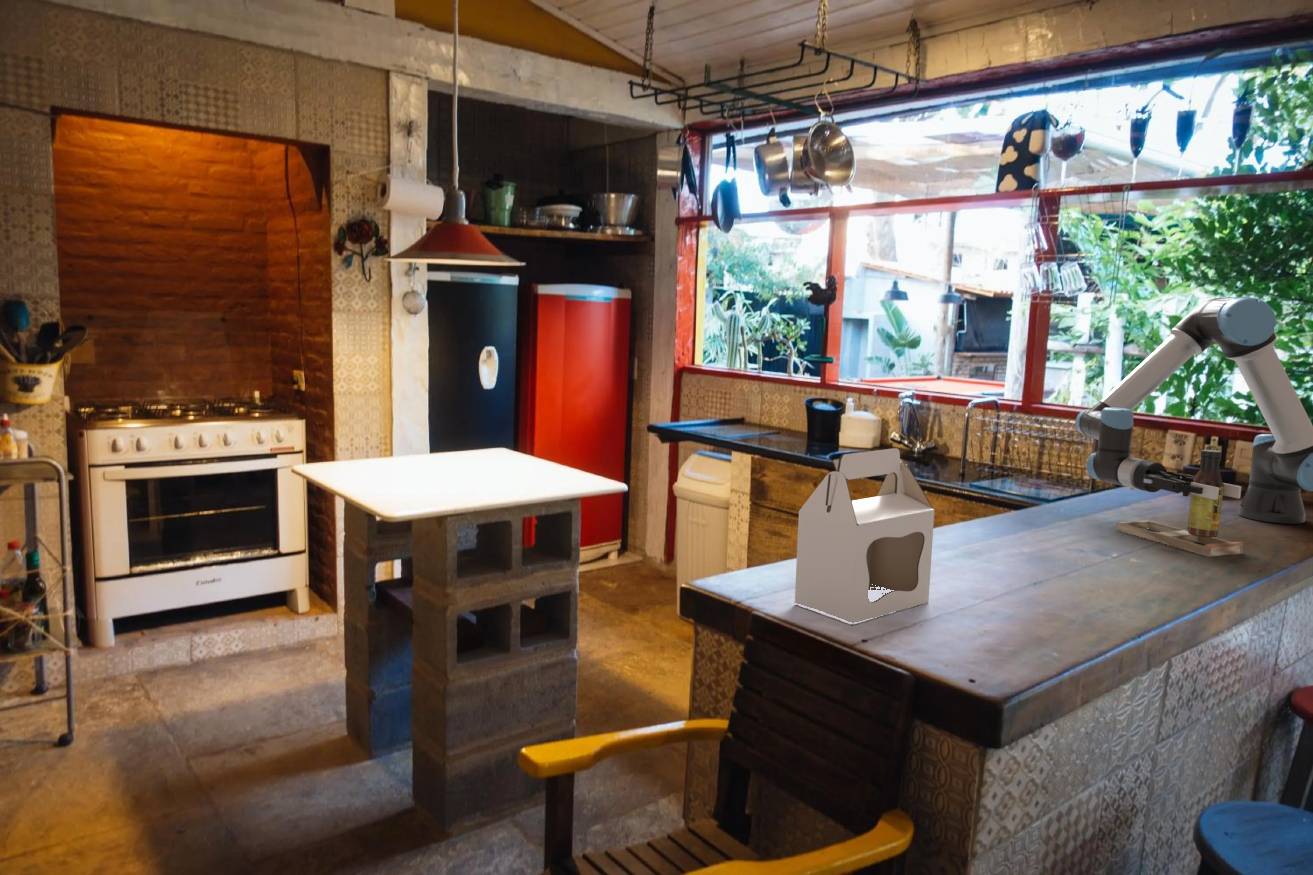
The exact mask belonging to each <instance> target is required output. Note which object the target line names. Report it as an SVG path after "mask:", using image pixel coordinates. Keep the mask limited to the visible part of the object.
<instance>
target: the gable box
mask: <svg viewBox="0 0 1313 875" xmlns="http://www.w3.org/2000/svg"><path fill="white" fill-rule="evenodd" d="M900 452H901V451H900V449H899V448H896V447H892V448H887V449H886V448H885V449H875V450H868V451H861V452H860V451H858V452H852V453H851V452H850V453H843V454H841V455H840V456H839V458H838V459H833V460H832V464H833V466H834V470H835V471H834V470H833V471H830V472H829V473H827V474H826V475H825V477H824V478H823V479H822V480H821V482H820V483H819V484H818V485H817V486H816V489H814V491H813V492H812V493H811V495H810V496H809V497H808V499H807V500H806V501H805V503H803V505H802V507H800V509H799V510H798V522H797V524H798V525H797V544H796V564H795V565H796V567H795V588H794V589H795V590H794V591H795V592H794V604H795V603H797V604H801V605H804V606H807V607H810V608H814V609H817V610H819V611H823V612H825V613H827V614H830V615H833V616H836V617H838V618H841V619H844V620H846V621H848V622H852V623H854V622H859V621H863V620H866V619H870V618H875V617H878V616H881V615H886V614H889V613H891V612H894V611H899V610H902V609H906V608H909V609H911V607H912V608H914V606H915V607H918V606H917V605H919V606H921V604H922V605H925V604H929V600H930V587H931V586H930V584H931V569H932V568H931V567H932V553H933V539H934V538H933V536H934V526H935V525H934V522H935V521H934V520H935V509H934V507H933V505H932V503H931V502H930V500H929V499H928V497H927V495H926V494H925V492H924V490H923V489H922V487H921V485H920V484H919V482H918V480H917V479H916V477H915V475H914V473H913V472H912V470H911V469H910V468H909V466H908V464H907V463H902V462H901V453H900ZM883 475H885V478H884V481H883V483H882V484H881V487H880V489H879V492H878V494H877V495H876V496H872V497H866V498H860V499H854V500H852V497H851V492H850V489H849V484H848V481H849V480H850V481H851V480H855V479H864V478H869V477H870V478H871V477H876V476H883ZM872 584H873V585H872ZM875 585H876V586H875ZM878 586H879V587H880V589H877V590H881V587H884V588H886V590H887V589H890V590H894V591H891V592H889V593H887V594H886V593H885V595H883V596H882V597H881V598H879V599H878V600H876V601H874V602H870V601H869V599H868V590H870V587H874V588H871V590H876V588H875V587H878ZM883 590H885V589H883ZM882 594H883V593H882ZM906 610H907V609H906ZM902 611H903V610H902ZM899 612H900V611H899ZM889 615H890V614H889ZM886 616H887V615H886Z"/></svg>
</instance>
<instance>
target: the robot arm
mask: <svg viewBox="0 0 1313 875" xmlns="http://www.w3.org/2000/svg"><path fill="white" fill-rule="evenodd" d="M1276 326H1277V318H1276V313H1275V310H1273V308H1272V307H1271V306H1270V305H1269V304H1268V303H1267V302H1266V301H1264V300H1263V299H1259V298H1256V297H1250V296H1236V297H1217V298H1212V299H1209V300H1207V301H1204V302H1203V303H1201V304H1199V305H1198V306H1197V307H1195V308H1194V309H1192V311H1190V312H1189V313H1188V314H1187V315H1186V316H1184V317H1183V318H1182V319H1181V320H1179V322H1178V323H1176V325H1175V326H1174V327H1172V329H1170V330H1169V332H1170V333H1169V334H1170V335H1169V336H1168V337H1167V339H1165V340H1164V341H1163V342H1162V343H1161V344H1160V345H1159V346H1158V347H1157V348H1156V349H1155V350H1153V352H1151V353H1150V354H1149V355H1148V356H1147V357H1146V358H1145V359H1144V360H1142V361H1141V363H1140V364H1139V365H1137V366H1136V367H1135V368H1134V369H1133V370H1132V371H1131V372H1129V374H1128V375H1126V376H1125V377H1124V378H1123V379H1122V380H1121V381H1120V382H1119V383H1118V384H1117V385H1115V386H1114V388H1112V389H1111V390H1110V391H1109V392H1108V393H1107V394H1106V395H1105V396H1104V397H1102V399H1100V400H1099V401H1098V402H1097V403H1096V404H1095V405H1094V406H1093V407H1092V408H1087V409H1083V410H1081V411H1080V412H1079V413H1078V414H1077V416H1076V419H1075V421H1074V422H1075V424H1074V425H1075V426H1076V427H1075V428H1076V430H1077V431H1078V432H1079V433H1080V434H1082V435H1083V436H1085V437H1086V438H1089V439H1095V440H1098V444H1097V445H1098V446H1097V451H1094V452H1092V453H1091V454H1090V455H1089V456H1088V459H1087V460H1086V464H1085V469H1086V472H1087V474H1088V475H1089V476H1090V477H1091V478H1092V479H1094V480H1098V481H1101V482H1103V483H1108V484H1113V485H1118V486H1123V487H1126V488H1127V487H1128V488H1129V490H1130V491H1134V490H1140V491H1143V492H1148V493H1157V492H1159V491H1160V490H1164V491H1167V492H1171V493H1176V494H1180V493H1181V494H1182V497H1189V495H1191V494H1192V495H1197V496H1201V497H1206V498H1210V499H1215V500H1217V499H1218V494H1219V487H1214V486H1209V485H1204V484H1199V483H1194V482H1193V479H1194V476H1195V475H1192V474H1188V473H1177V472H1175V471H1171V470H1167V469H1166V466H1164V464H1162V463H1160V462H1158V461H1152V460H1146V459H1143V458H1137V457H1131V456H1130V455H1131V454H1130V453H1131V445H1132V438H1133V427H1134V425H1135V424H1134V423H1135V422H1134V409H1136V408H1137V407H1138V406H1139V405H1140V404H1141V403H1142V402H1144V400H1146V399H1147V398H1148V397H1149V396H1150V395H1151V394H1153V393H1154V392H1155V391H1156V390H1157V388H1159V387H1160V386H1161V385H1162V384H1163V383H1165V381H1166V380H1168V379H1169V378H1170V377H1171V376H1172V375H1173V374H1174V373H1175V372H1177V371H1178V370H1179V369H1180V368H1181V367H1182V366H1183V365H1185V363H1186V362H1187V361H1189V360H1190V359H1191V358H1192V357H1193V356H1195V355H1197V356H1198V355H1201V354H1202V353H1203V352H1205V350H1207V349H1208V348H1210V347H1212V346H1213V345H1216V344H1218V345H1219V347H1220V350H1221V352H1222V353H1223V355H1224V358H1226V359H1228V360H1231V361H1234V362H1235V363H1236V365H1237V367H1238V369H1239V371H1240V373H1241V375H1242V377H1243V379H1244V381H1245V383H1246V385H1247V387H1248V389H1249V391H1250V393H1251V396H1252V397H1253V399H1254V401H1255V403H1256V404H1257V407H1258V409H1259V411H1260V412H1261V415H1262V416H1263V419H1264V420H1265V422H1266V425H1267V427H1268V429H1269V430H1270V432H1271V433H1261V434H1257V435H1255V437H1254V440H1253V443H1252V444H1253V445H1252V448H1251V449H1252V454H1251V463H1250V470H1249V481H1248V487H1247V490H1246V492H1245V494H1244V495H1243V498H1242V500H1241V502H1240V504H1239V505H1238V510H1237V514H1238V515H1239V516H1241V517H1243V518H1246V519H1251V520H1256V521H1260V522H1266V523H1274V524H1275V523H1277V524H1288V525H1289V524H1291V525H1292V524H1303V523H1305V522H1306V516H1307V514H1306V511H1305V506H1304V502H1303V498H1302V495H1301V492H1302V491H1301V490H1305V491H1307V492H1313V424H1312V421H1311V420H1310V418H1309V415H1308V413H1307V412H1306V410H1305V407H1304V406H1303V403H1302V401H1301V400H1300V398H1299V395H1298V394H1297V392H1296V390H1295V388H1294V385H1293V383H1292V382H1291V380H1290V377H1289V376H1288V374H1287V372H1286V370H1285V368H1284V366H1283V363H1281V359H1280V358H1279V356H1278V354H1277V351H1276V350H1275V348H1274V344H1275V342H1276V341H1277V339H1278V338H1277V336H1276V333H1275V327H1276ZM1223 485H1224V489H1223V497H1224V496H1225V497H1230V498H1234V499H1241V495H1242V494H1241V493H1242V486H1240V485H1235V484H1231V483H1225V482H1223Z"/></svg>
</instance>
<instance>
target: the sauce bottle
mask: <svg viewBox="0 0 1313 875" xmlns="http://www.w3.org/2000/svg"><path fill="white" fill-rule="evenodd" d="M1222 453H1223V452H1222V450H1215V449H1201V452H1200V464H1199V465H1200V466H1199V467H1200V468H1199V470H1198V471H1197V473H1195V475H1193V476H1194V479H1193V482H1194V483H1199V484H1204V485H1209V486H1214V487H1219V494H1218V499H1217V500H1215V499H1210V498H1206V497H1201V496H1197V495H1192V494H1190V501H1189V510H1188V511H1189V512H1188V518H1187V526H1188V527H1187V530H1188V533H1189V534H1191V535H1194V536H1199V537H1214V538H1218V537H1217V536H1218V534H1219V530H1220V525H1221V524H1220V522H1221V516H1222V515H1221V513H1222V506H1223V497H1224V495H1223V489H1224V485H1223V483H1224V482H1223V479H1222V475H1221V470H1220V469H1221V467H1220V464H1221V458H1222V455H1223V454H1222Z"/></svg>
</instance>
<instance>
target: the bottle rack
mask: <svg viewBox="0 0 1313 875" xmlns="http://www.w3.org/2000/svg"><path fill="white" fill-rule="evenodd" d="M1115 526H1116V529H1115V531H1117V530H1118V531H1117V532H1120V531H1123V532H1122V533H1124V532H1126V533H1125V534H1127V533H1128V534H1127V535H1131V534H1133V535H1132V536H1134V535H1136V536H1135V537H1137V536H1139V537H1138V538H1141V537H1142V538H1141V539H1144V538H1147V539H1146V540H1148V539H1150V540H1149V541H1151V540H1153V541H1152V542H1155V541H1157V542H1156V543H1158V542H1161V543H1160V544H1162V543H1164V544H1163V545H1165V544H1167V545H1166V546H1169V545H1171V546H1170V547H1172V546H1174V547H1173V548H1176V547H1177V548H1176V549H1179V548H1181V549H1180V550H1183V549H1184V551H1186V552H1190V553H1193V552H1194V554H1197V555H1201V556H1203V557H1218V556H1219V557H1220V556H1230V555H1240V554H1241V555H1242V554H1243V553H1244V552H1243V550H1244V549H1243V548H1244V544H1245V542H1243V541H1229V540H1226V539H1221V538H1218V537H1199V536H1194V535H1191V534H1189V533H1188V529H1184V528H1180V527H1176V526H1171V525H1168V524H1164V523H1160V522H1157V521H1153V520H1151V519H1150V520H1149V519H1148V520H1136V521H1122V522H1120V521H1119V522H1116V525H1115ZM1147 528H1149V529H1147ZM1151 529H1152V530H1151ZM1154 530H1155V531H1154ZM1158 531H1161V532H1158ZM1193 542H1196V543H1193ZM1198 543H1199V544H1198ZM1202 544H1203V545H1202Z"/></svg>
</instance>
